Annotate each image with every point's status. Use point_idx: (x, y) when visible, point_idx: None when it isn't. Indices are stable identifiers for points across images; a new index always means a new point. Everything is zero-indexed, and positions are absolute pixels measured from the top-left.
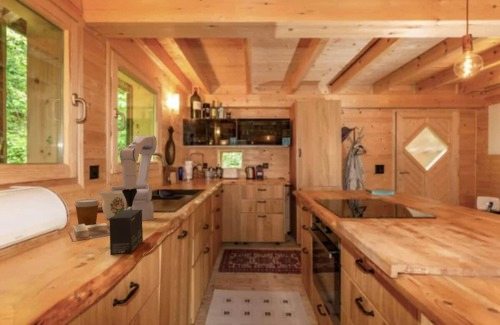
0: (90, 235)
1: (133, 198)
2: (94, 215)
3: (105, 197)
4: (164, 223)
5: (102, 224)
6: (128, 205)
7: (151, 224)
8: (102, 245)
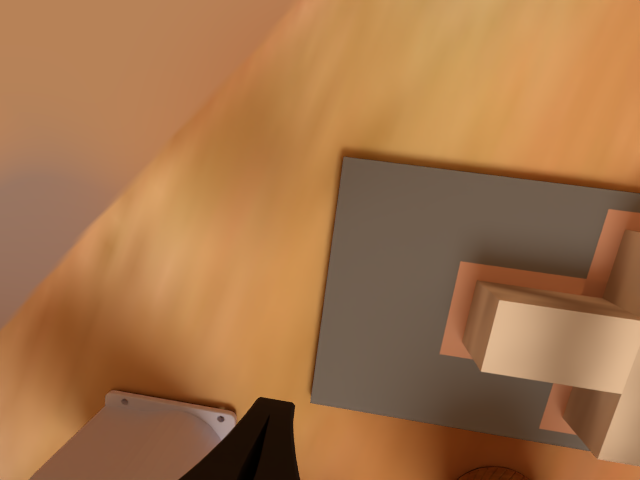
0: (588, 280)
1: (202, 466)
2: None
3: None
4: (88, 255)
5: (517, 340)
6: (292, 419)
7: (166, 294)
8: (625, 8)
